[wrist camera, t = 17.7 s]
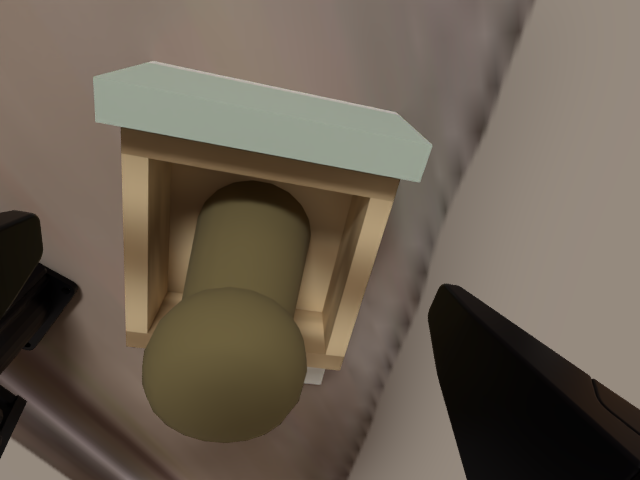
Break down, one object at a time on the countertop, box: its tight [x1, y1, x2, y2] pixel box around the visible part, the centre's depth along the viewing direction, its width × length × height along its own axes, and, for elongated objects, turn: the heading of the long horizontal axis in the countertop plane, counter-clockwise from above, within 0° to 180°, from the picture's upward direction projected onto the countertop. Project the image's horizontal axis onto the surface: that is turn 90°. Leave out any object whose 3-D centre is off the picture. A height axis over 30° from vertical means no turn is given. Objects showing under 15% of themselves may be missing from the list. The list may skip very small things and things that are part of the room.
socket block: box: [121, 127, 400, 370], centre depth 20 cm, size 11×11×4 cm
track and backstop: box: [93, 61, 433, 385], centre depth 21 cm, size 19×12×6 cm, turn 168°
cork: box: [142, 180, 311, 443], centre depth 16 cm, size 6×6×11 cm
